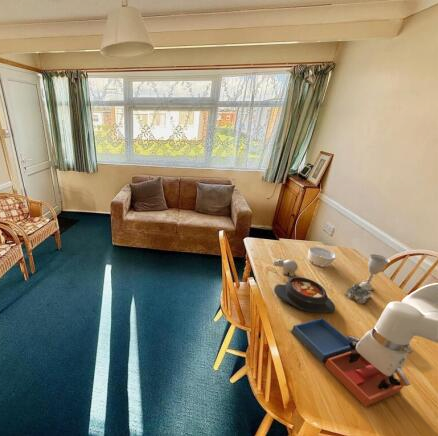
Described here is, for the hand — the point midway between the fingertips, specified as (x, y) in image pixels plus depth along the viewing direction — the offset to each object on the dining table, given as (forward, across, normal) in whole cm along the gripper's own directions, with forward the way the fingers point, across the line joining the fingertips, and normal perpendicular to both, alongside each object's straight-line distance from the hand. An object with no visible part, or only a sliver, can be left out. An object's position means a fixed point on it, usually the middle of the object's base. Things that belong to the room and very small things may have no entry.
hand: (366, 373), depth 78 cm
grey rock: (+2, +29, -39) cm, 49 cm away
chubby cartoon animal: (+2, +55, -19) cm, 58 cm away
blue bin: (+2, +15, +2) cm, 15 cm away
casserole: (+2, +34, -10) cm, 36 cm away
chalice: (+2, +33, -51) cm, 61 cm away
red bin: (+2, 0, +2) cm, 3 cm away
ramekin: (+2, +57, -48) cm, 74 cm away
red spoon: (+1, 0, +2) cm, 2 cm away
